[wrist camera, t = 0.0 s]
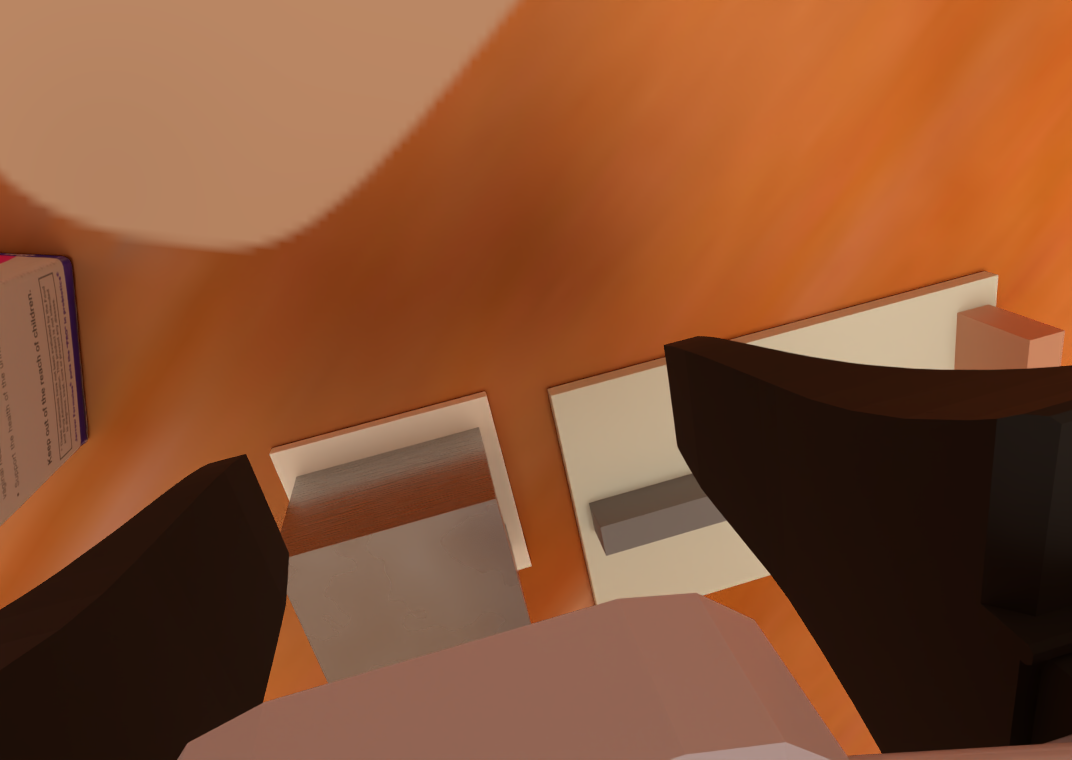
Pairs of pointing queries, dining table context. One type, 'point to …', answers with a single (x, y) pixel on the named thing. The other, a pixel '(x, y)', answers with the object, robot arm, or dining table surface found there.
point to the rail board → (664, 477)
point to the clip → (400, 556)
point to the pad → (402, 434)
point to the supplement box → (37, 374)
